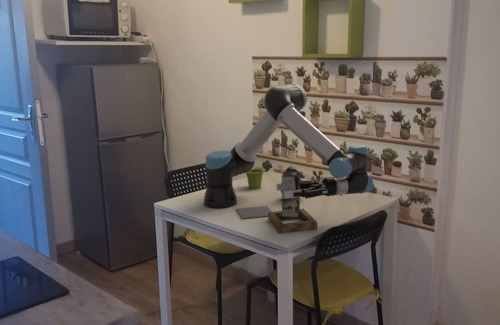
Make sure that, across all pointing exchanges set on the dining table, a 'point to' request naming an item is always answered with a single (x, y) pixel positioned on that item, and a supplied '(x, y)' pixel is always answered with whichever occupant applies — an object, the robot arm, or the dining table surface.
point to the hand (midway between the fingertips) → (280, 190)
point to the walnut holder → (307, 222)
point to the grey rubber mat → (253, 212)
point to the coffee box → (289, 183)
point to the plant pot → (254, 178)
